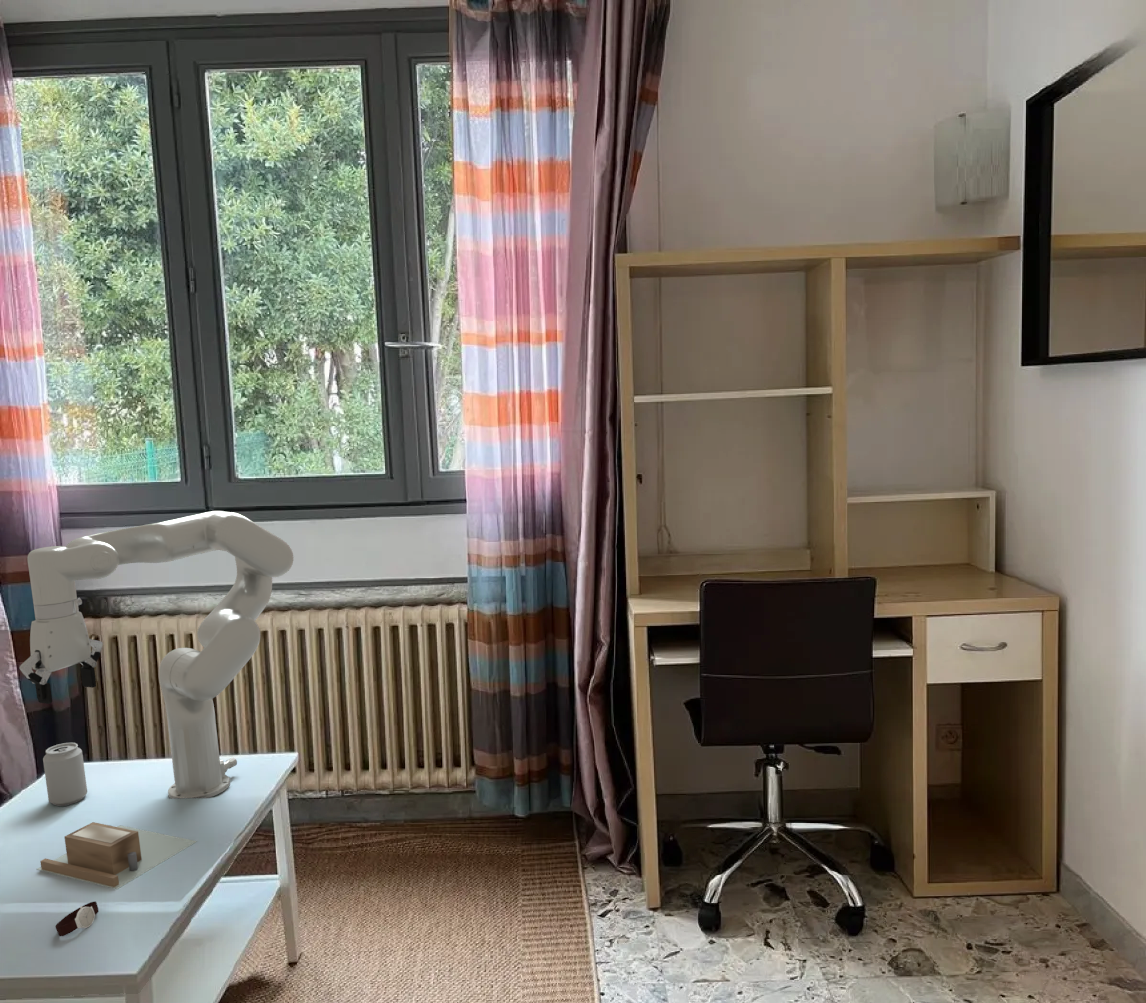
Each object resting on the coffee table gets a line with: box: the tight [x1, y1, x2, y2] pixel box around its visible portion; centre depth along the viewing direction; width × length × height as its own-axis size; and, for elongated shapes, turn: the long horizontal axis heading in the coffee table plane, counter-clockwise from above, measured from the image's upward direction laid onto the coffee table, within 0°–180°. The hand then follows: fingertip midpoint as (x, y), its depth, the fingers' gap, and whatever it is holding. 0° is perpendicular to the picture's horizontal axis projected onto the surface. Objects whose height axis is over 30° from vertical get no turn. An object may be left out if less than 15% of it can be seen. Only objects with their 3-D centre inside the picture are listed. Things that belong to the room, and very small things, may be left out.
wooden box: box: [64, 821, 142, 875], centre depth 175 cm, size 6×12×6 cm, turn 65°
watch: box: [55, 901, 100, 937], centre depth 157 cm, size 8×5×4 cm, turn 165°
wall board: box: [36, 825, 198, 890], centre depth 178 cm, size 18×21×4 cm
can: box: [42, 742, 88, 807], centre depth 207 cm, size 8×8×12 cm
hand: (67, 694), depth 188 cm, fingers open, 9 cm apart
